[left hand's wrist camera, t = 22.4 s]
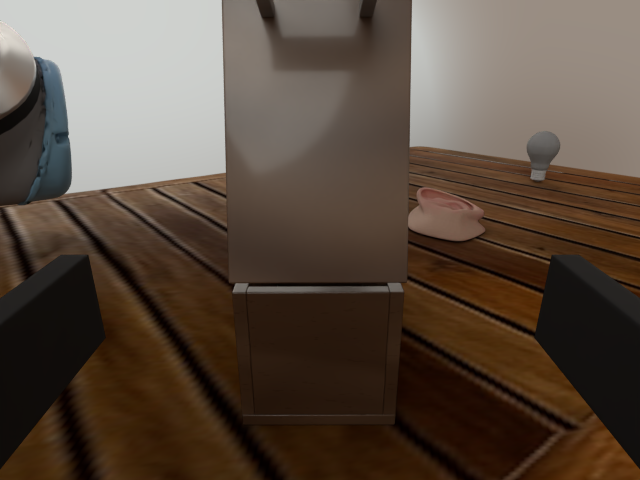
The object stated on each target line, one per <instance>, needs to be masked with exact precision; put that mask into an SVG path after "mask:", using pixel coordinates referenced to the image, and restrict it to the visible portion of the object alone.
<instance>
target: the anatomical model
mask: <svg viewBox="0 0 640 480" xmlns="http://www.w3.org/2000/svg"><path fill="white" fill-rule="evenodd" d="M417 200H418V203H419V206H418V207H416V208H415V209H414V210H412V211H411V213H410V214H409V216H408V227H409V228H410V229H411V230H413V231H415V232H417V233H420V234H423V235H427V236H431V237H435V238H440V239H445V240H450V241H465V240H469V239H472V238H474V237H477V236H479V235H481V234H482V233H484V232H485V228H484V227H483V226H482V225H481V224H480V223H479V222H478V220H479V219H481V218H482V217H483V216H484V211H483V210H482V209H480V208H479V207H477V206H476V205H474V204H472V203H471V202H469V201H467V200H465V199H463V198H460V197H458V196H455V195H452V194H449V193H446V192H443V191H440V190H436V189H432V188H420V189H419V190H418V192H417Z"/></svg>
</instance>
